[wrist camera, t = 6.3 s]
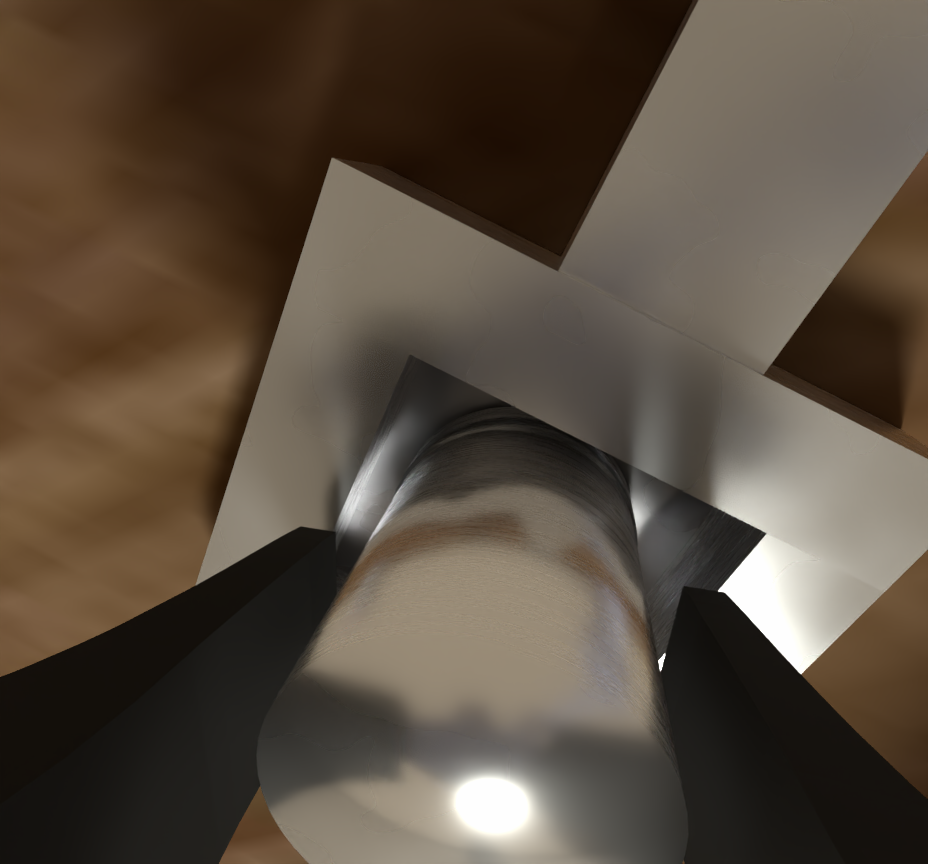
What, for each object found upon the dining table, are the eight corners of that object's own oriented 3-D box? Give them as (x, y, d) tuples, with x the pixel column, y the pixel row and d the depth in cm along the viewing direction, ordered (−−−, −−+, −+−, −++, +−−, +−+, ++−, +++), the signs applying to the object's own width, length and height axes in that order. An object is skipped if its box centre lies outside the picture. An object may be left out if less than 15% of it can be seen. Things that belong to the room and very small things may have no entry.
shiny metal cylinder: (648, 417, 10) (739, 678, 5) (615, 621, 12) (654, 985, 6) (401, 397, 11) (225, 603, 5) (404, 593, 13) (274, 901, 7)
